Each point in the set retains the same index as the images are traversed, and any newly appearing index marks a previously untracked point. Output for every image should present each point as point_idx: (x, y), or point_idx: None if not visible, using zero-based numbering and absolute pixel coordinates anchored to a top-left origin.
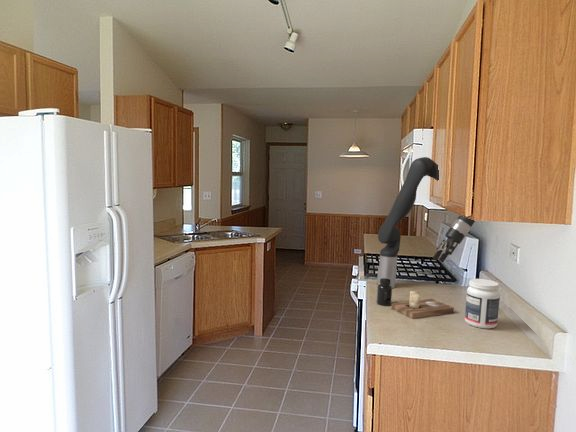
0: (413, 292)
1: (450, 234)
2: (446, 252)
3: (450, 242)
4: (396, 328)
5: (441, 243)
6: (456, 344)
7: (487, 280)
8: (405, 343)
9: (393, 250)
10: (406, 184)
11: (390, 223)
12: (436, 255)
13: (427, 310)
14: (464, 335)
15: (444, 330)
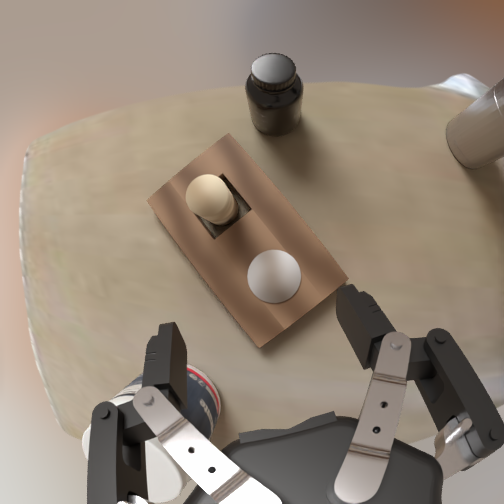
0: (207, 188)
1: None
2: (113, 406)
3: None
4: (82, 169)
5: (466, 408)
6: (42, 297)
7: (165, 490)
8: (28, 197)
9: None
10: None
11: None
12: (353, 322)
13: (189, 250)
14: (87, 330)
15: (98, 287)
